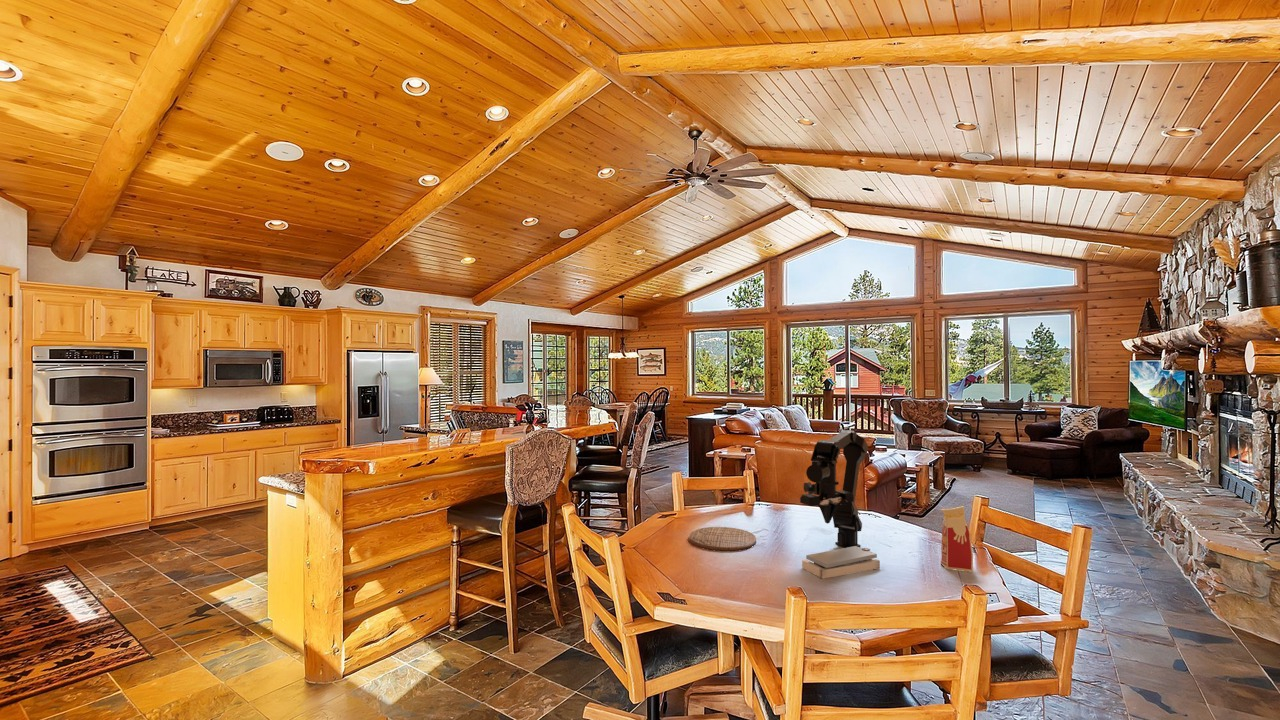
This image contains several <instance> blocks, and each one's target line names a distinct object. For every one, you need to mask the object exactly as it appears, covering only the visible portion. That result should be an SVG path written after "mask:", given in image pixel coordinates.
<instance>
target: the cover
mask: <svg viewBox="0 0 1280 720" xmlns="http://www.w3.org/2000/svg"><path fill="white" fill-rule="evenodd" d="M877 557H878V554H877V553H876V552H872V551H871V549H870V548H867V547H863V548H862V547H857V546H853V547H847V548H844V547H842V548H838V549H833V550H827V551H826V550H825V551H821V552H816V553H811V554H807V555H806V558H805V559H806V560H808V561H810V562H812V563H817V564H819V565H821V566H823V567H826V568H828V567H833V566H838V565H843V564H850V563H856V562H859V561H863V560H868V559H873V558H875V559H877Z"/></svg>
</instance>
